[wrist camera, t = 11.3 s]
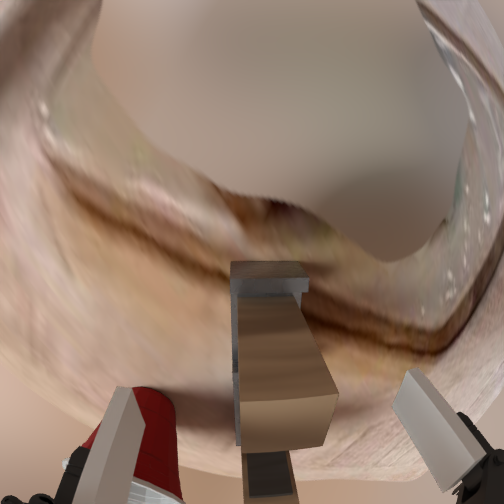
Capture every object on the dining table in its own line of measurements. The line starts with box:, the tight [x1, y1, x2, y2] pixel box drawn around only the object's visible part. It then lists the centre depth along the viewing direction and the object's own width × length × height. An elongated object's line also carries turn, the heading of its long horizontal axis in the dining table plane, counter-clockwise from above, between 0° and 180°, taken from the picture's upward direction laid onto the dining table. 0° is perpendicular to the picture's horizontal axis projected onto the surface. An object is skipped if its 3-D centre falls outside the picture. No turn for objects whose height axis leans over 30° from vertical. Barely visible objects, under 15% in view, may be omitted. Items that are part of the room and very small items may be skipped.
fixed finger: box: [241, 450, 299, 504], centre depth 18 cm, size 4×4×10 cm
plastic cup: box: [62, 387, 186, 504], centre depth 18 cm, size 11×11×12 cm
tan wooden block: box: [237, 296, 339, 453], centre depth 15 cm, size 4×4×10 cm
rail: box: [230, 261, 309, 446], centre depth 22 cm, size 20×5×4 cm, turn 179°
